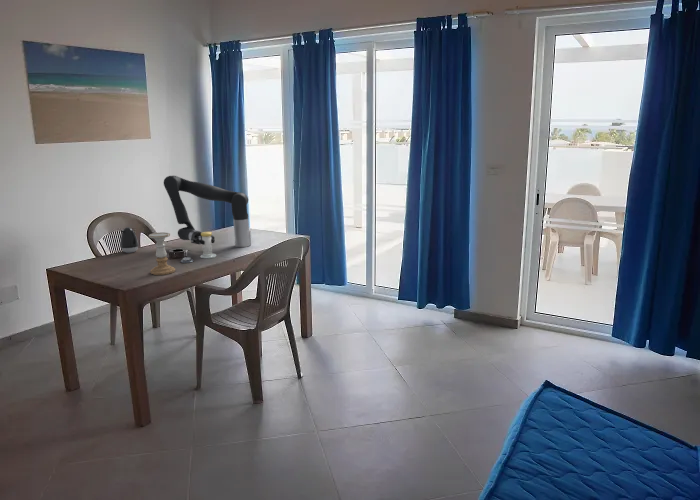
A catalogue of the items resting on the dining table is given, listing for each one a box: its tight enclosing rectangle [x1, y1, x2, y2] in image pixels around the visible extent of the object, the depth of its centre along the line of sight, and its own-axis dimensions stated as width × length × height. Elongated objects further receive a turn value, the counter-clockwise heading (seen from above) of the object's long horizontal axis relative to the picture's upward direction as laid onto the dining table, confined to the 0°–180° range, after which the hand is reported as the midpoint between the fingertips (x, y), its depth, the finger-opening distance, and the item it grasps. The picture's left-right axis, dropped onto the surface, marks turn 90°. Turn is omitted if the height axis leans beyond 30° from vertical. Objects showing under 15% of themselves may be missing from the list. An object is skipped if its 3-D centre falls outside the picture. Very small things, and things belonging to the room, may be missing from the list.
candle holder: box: [148, 232, 176, 276], centre depth 275 cm, size 12×12×20 cm
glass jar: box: [201, 231, 213, 255], centre depth 307 cm, size 6×6×12 cm
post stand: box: [180, 256, 194, 264], centre depth 298 cm, size 7×7×2 cm
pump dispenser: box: [119, 227, 139, 254], centre depth 320 cm, size 10×10×15 cm
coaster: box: [200, 253, 217, 259], centre depth 309 cm, size 9×9×1 cm
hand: (208, 242), depth 305 cm, fingers closed on glass jar, 5 cm apart
